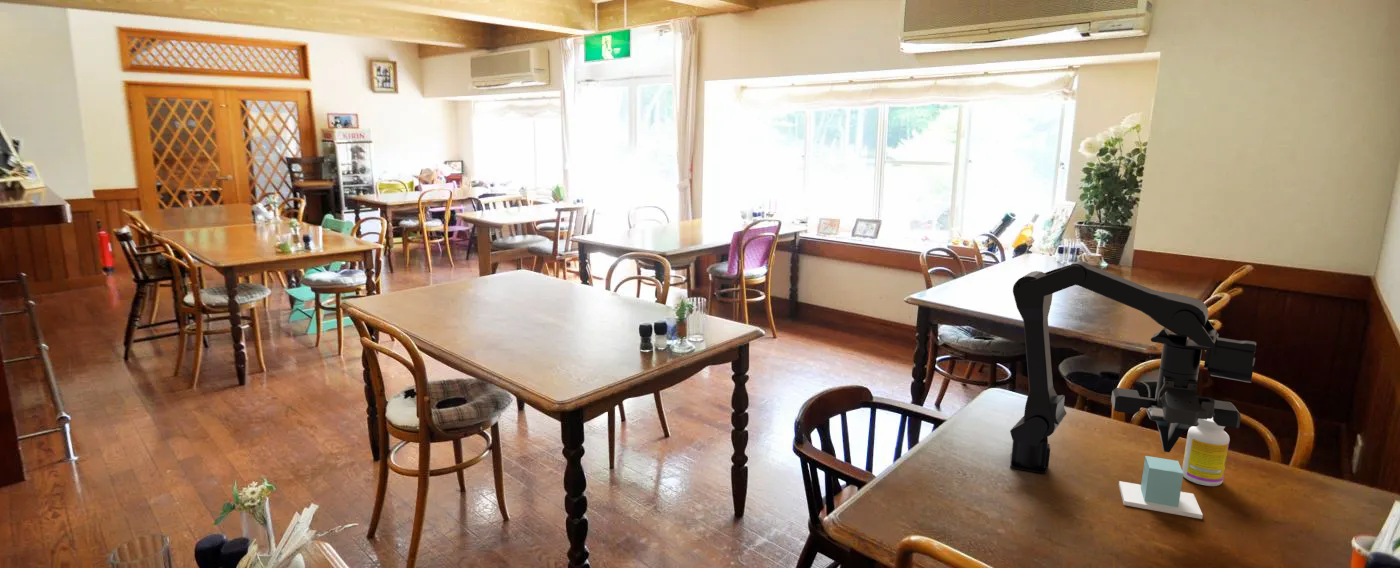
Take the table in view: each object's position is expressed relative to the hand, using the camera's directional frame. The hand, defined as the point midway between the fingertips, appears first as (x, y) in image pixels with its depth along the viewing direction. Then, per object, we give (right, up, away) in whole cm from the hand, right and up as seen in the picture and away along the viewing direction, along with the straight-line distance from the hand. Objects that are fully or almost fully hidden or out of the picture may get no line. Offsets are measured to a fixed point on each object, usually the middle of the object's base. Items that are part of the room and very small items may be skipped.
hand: (1166, 451), depth 130 cm
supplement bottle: (+13, -8, +10) cm, 19 cm away
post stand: (0, -10, +2) cm, 10 cm away
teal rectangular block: (0, -9, +2) cm, 9 cm away
